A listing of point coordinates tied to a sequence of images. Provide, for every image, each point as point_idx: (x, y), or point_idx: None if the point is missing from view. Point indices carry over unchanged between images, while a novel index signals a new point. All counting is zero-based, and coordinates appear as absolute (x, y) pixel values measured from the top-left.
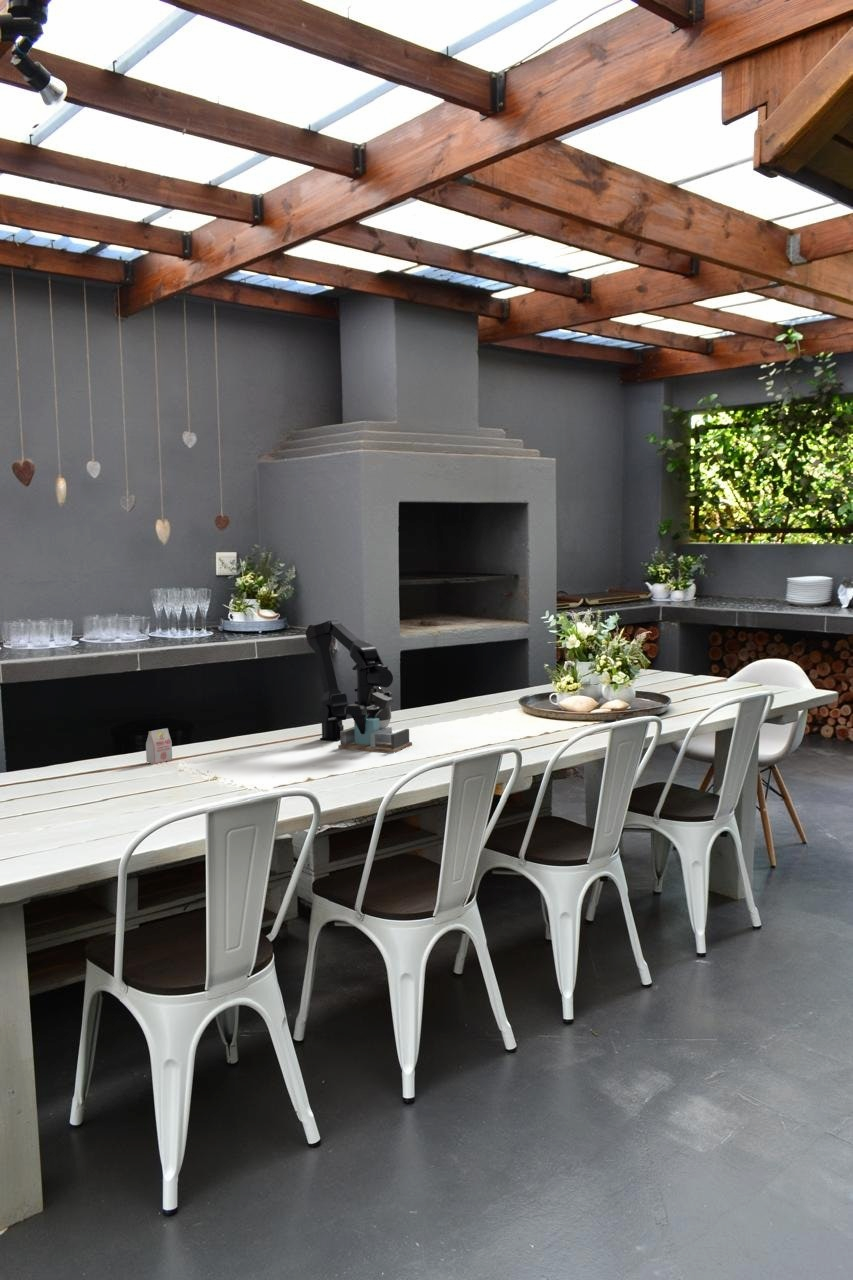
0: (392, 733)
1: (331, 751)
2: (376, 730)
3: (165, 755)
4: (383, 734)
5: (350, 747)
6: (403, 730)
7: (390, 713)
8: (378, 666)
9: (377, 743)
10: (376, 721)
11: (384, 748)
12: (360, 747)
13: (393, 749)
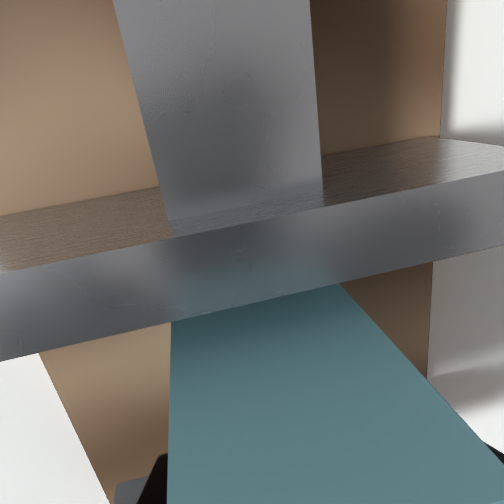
0: (146, 60)
1: (498, 395)
2: (277, 339)
3: None
4: (311, 156)
5: (422, 355)
6: None
7: None
8: None
9: (391, 150)
10: (323, 484)
11: (423, 8)
12: (430, 278)
13: None
